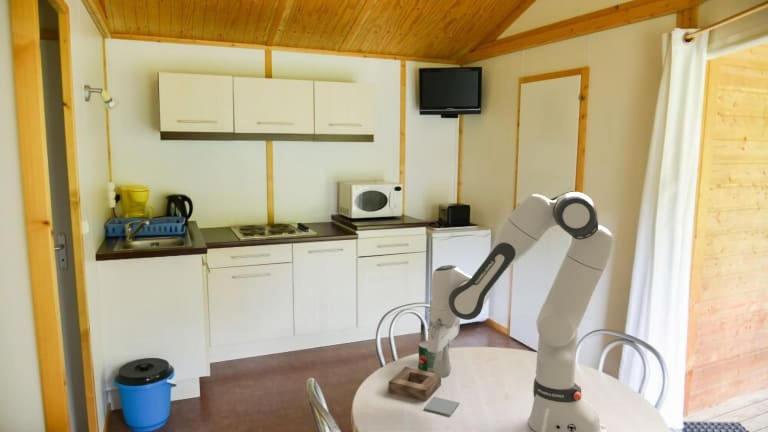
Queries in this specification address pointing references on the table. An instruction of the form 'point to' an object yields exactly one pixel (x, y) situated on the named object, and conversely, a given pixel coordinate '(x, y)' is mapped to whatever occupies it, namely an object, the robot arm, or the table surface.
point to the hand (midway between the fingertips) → (442, 357)
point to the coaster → (441, 406)
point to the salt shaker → (443, 364)
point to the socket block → (414, 383)
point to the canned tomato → (426, 358)
